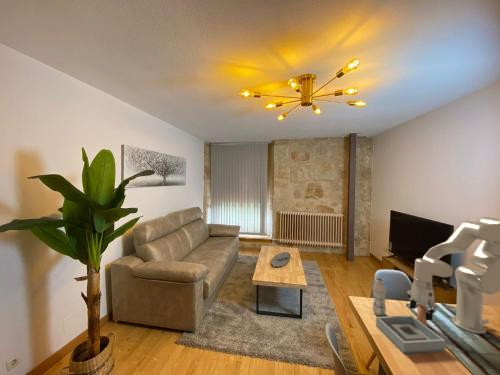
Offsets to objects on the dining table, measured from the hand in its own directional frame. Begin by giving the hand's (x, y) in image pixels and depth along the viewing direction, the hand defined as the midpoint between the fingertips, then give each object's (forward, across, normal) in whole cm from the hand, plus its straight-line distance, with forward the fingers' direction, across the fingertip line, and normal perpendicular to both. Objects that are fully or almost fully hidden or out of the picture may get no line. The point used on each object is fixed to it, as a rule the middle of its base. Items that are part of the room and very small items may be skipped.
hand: (420, 313), depth 113 cm
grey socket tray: (+6, -9, +15) cm, 18 cm away
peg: (+6, 0, -1) cm, 6 cm away
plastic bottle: (+6, +10, +16) cm, 20 cm away
